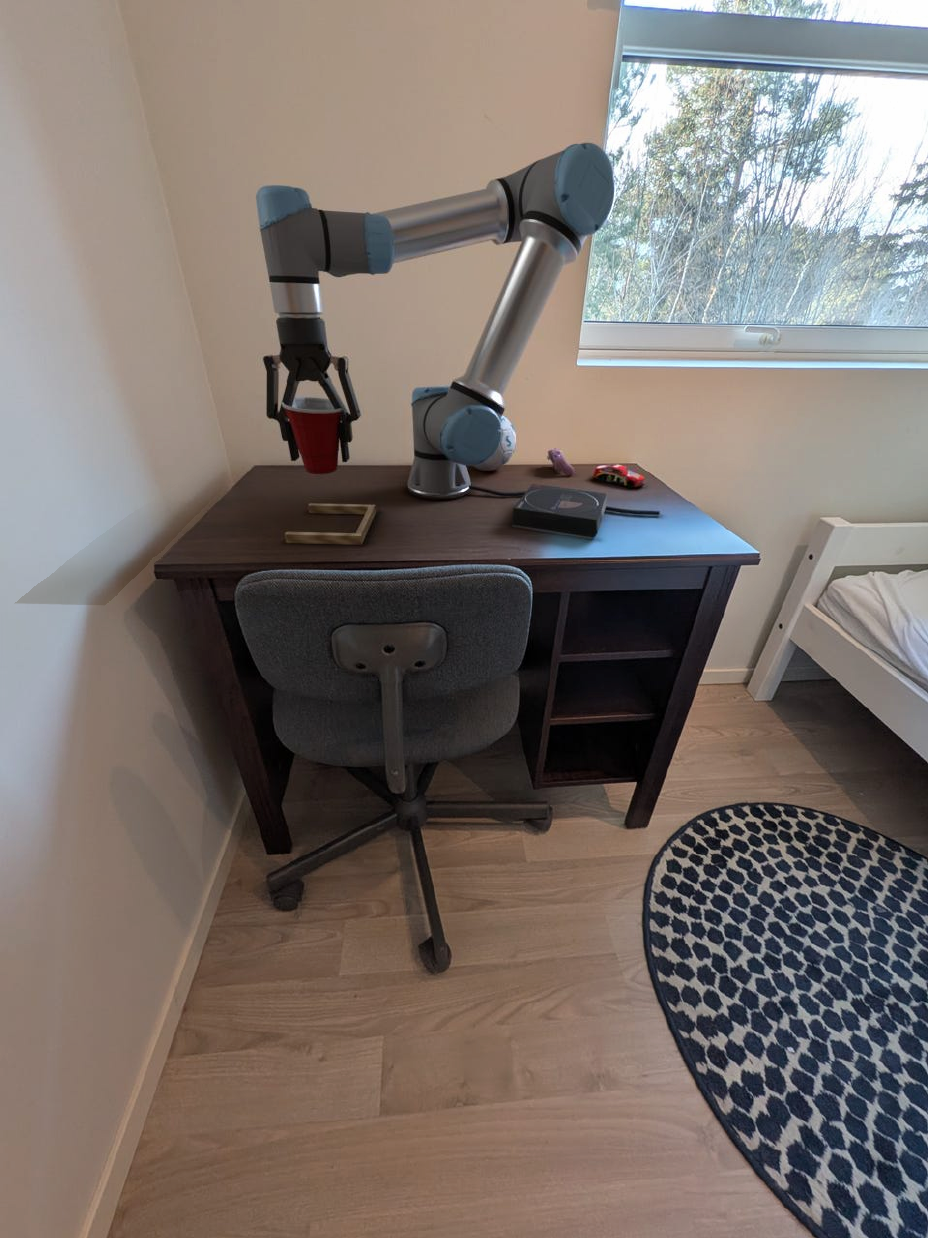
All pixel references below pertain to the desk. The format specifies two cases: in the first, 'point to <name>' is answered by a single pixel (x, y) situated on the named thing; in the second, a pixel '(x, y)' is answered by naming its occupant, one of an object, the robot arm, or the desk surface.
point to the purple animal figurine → (560, 462)
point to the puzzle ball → (501, 448)
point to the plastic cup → (315, 432)
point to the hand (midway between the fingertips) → (320, 459)
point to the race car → (619, 475)
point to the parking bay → (336, 537)
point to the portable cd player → (560, 511)
